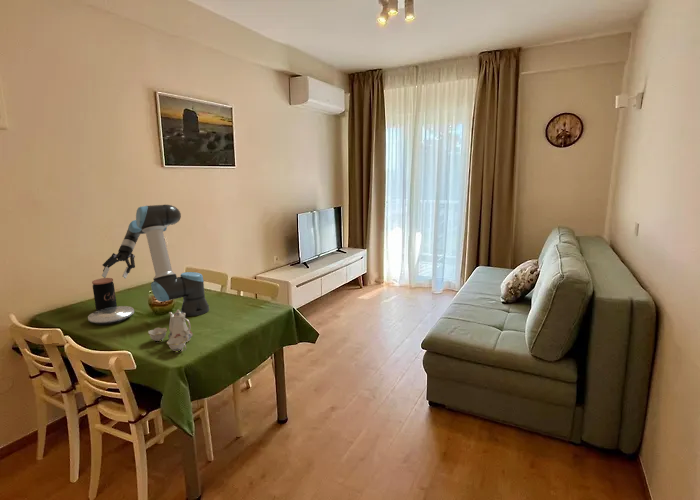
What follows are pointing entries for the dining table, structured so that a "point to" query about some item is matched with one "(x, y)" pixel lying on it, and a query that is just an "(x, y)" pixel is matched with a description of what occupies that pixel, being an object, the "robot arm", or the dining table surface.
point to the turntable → (110, 314)
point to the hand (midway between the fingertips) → (113, 277)
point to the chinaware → (174, 331)
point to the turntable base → (111, 322)
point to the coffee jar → (104, 293)
